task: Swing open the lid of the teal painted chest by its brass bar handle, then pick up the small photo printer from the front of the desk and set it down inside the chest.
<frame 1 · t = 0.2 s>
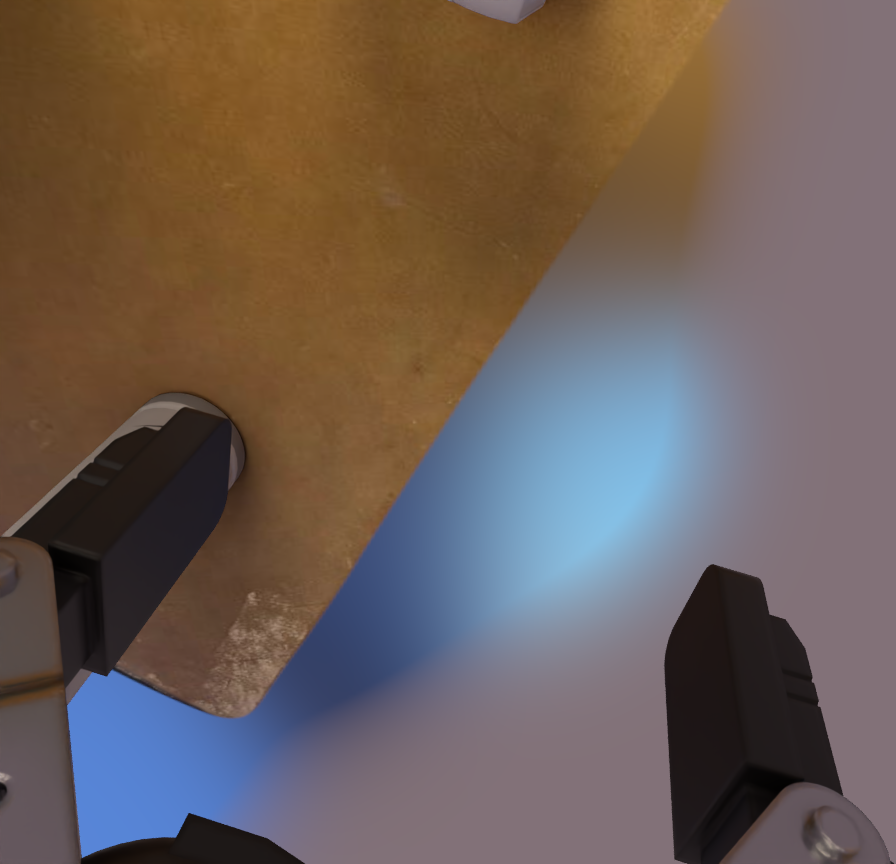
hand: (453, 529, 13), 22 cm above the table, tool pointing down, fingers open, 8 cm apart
travel mug: (192, 436, 42), on the table
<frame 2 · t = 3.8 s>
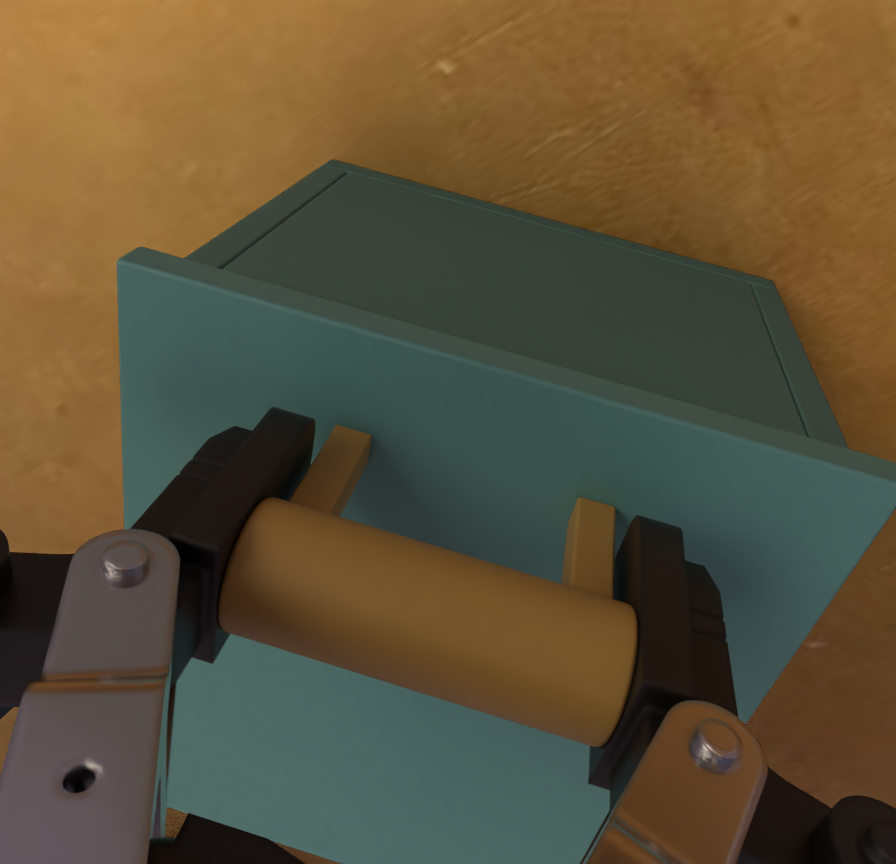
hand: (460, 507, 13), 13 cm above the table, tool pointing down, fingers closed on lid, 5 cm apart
chest: (487, 431, 27), on the table
lid: (389, 757, 16), point 13 cm above the table, hinge at -0.1°, touching gripper
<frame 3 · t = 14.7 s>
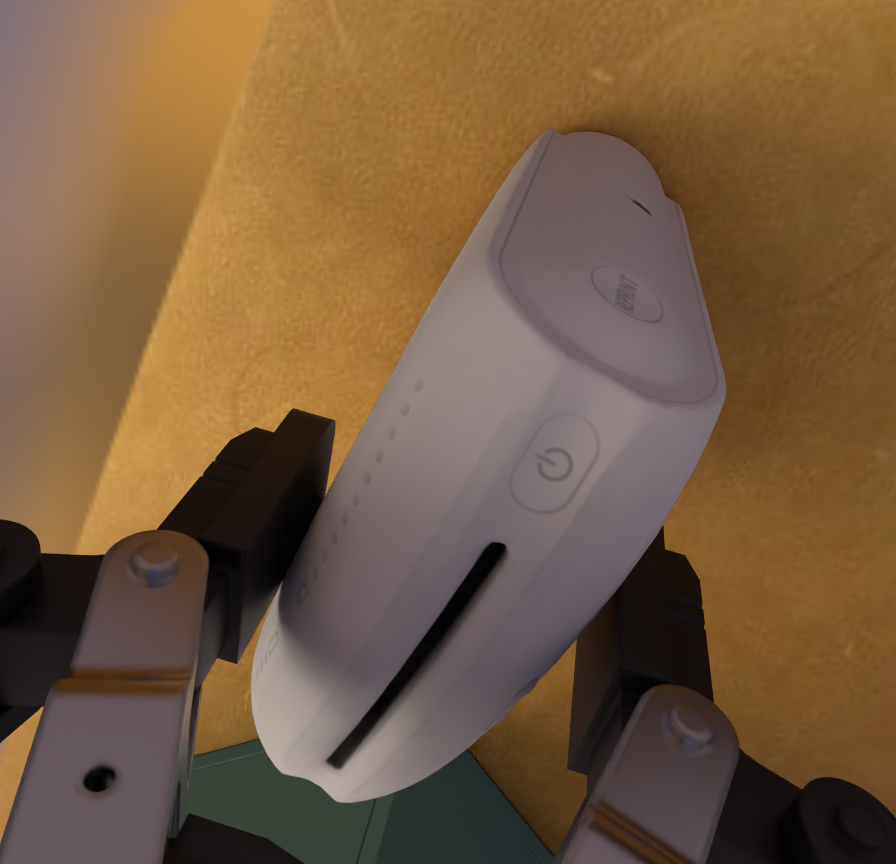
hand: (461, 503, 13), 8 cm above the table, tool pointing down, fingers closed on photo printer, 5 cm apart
chest: (391, 842, 34), on the table
photo printer: (519, 312, 20), on the table, touching gripper
when the fingers open (9 cm above the table, at t = 23.4 s): photo printer stays where it is, resting on chest.
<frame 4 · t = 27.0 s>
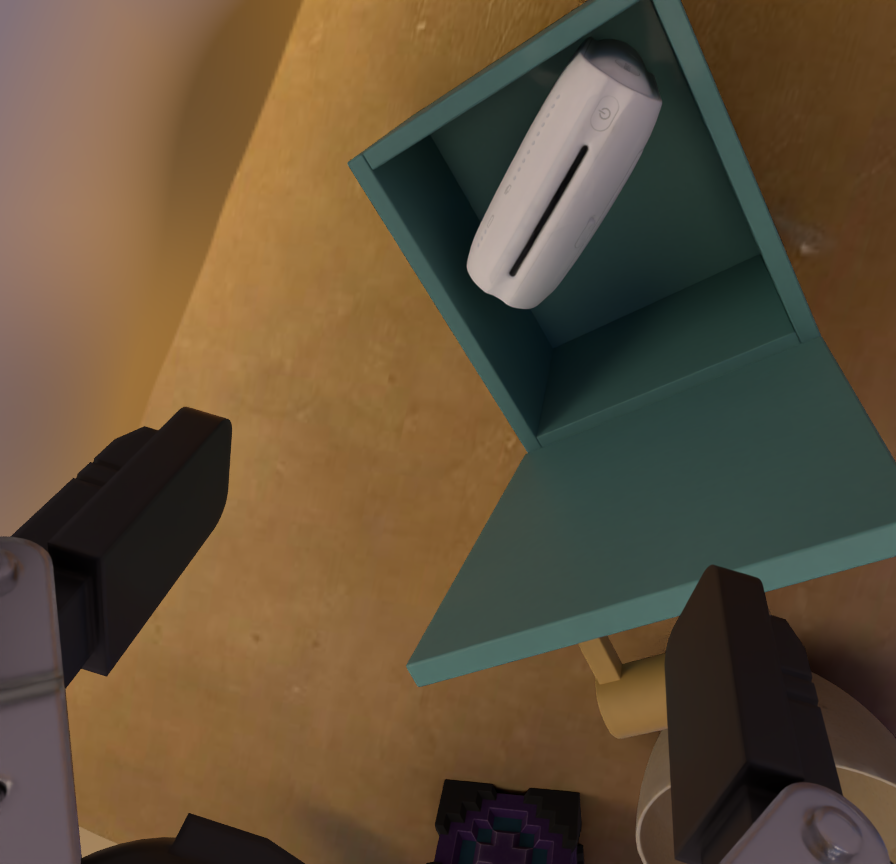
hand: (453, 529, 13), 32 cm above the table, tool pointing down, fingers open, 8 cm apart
chest: (593, 186, 40), on the table
beige bowl: (760, 694, 57), on the table
energy cube: (516, 825, 71), on the table
photo printer: (571, 141, 39), point 1 cm above the table, touching chest
lid: (680, 537, 27), point 20 cm above the table, hinge at 78.1°
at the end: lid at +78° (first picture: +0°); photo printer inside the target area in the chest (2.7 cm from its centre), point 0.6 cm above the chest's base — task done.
